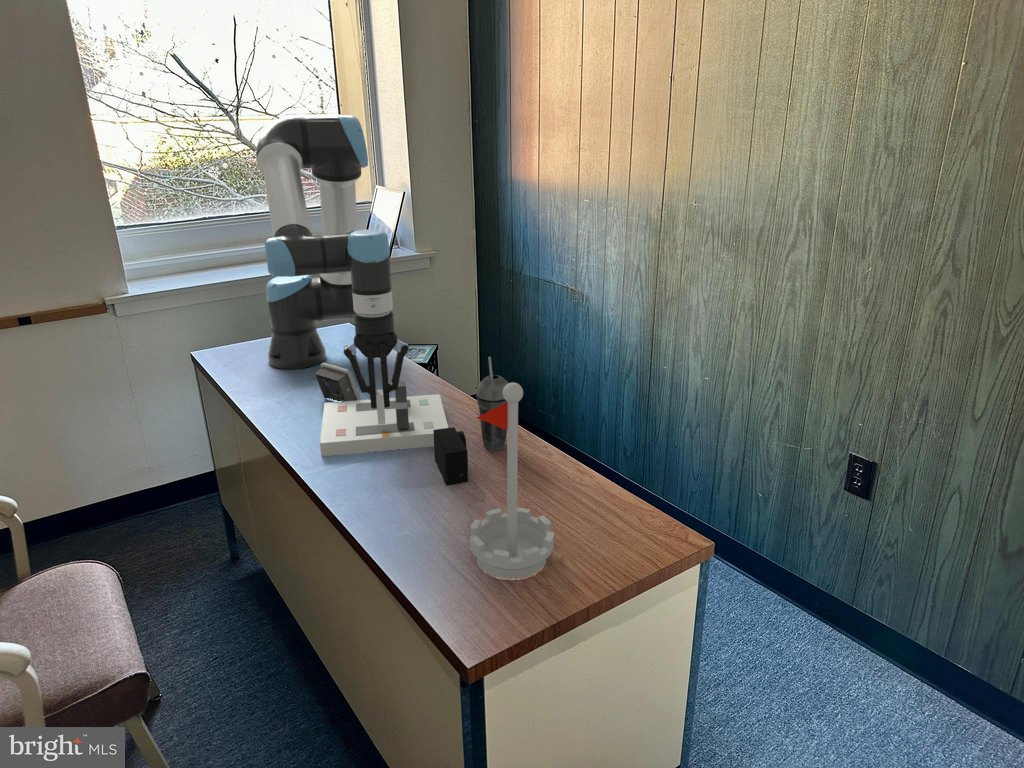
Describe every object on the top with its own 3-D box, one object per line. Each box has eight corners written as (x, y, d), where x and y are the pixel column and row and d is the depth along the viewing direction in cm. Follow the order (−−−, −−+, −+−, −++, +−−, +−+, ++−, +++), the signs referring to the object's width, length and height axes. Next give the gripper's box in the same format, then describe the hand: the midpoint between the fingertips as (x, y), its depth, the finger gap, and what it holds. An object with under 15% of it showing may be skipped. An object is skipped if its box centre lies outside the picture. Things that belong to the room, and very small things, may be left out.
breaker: (395, 399, 157) (394, 381, 156) (406, 398, 158) (405, 380, 156) (396, 405, 154) (395, 386, 153) (407, 404, 155) (406, 386, 153)
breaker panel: (325, 414, 158) (324, 402, 157) (439, 405, 163) (439, 393, 162) (321, 456, 140) (319, 442, 139) (450, 445, 145) (449, 431, 144)
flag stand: (545, 532, 116) (550, 364, 105) (560, 582, 104) (567, 399, 93) (467, 537, 115) (464, 368, 103) (473, 588, 103) (469, 404, 91)
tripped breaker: (396, 422, 146) (395, 403, 145) (408, 421, 147) (406, 402, 145) (397, 428, 144) (396, 409, 142) (409, 427, 144) (407, 408, 142)
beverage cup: (518, 445, 145) (519, 355, 137) (494, 457, 140) (494, 364, 132) (493, 434, 149) (493, 346, 142) (469, 445, 144) (467, 355, 137)
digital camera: (474, 482, 131) (474, 449, 128) (446, 486, 130) (445, 453, 127) (461, 456, 140) (460, 425, 138) (434, 460, 139) (433, 429, 136)
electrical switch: (361, 402, 165) (355, 367, 160) (346, 411, 161) (339, 375, 157) (333, 393, 169) (327, 359, 165) (318, 402, 166) (310, 367, 161)
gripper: (338, 319, 130) (349, 432, 139) (408, 315, 133) (414, 426, 142) (339, 308, 137) (349, 416, 146) (406, 304, 140) (411, 411, 149)
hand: (381, 421), depth 144 cm, fingers closed
